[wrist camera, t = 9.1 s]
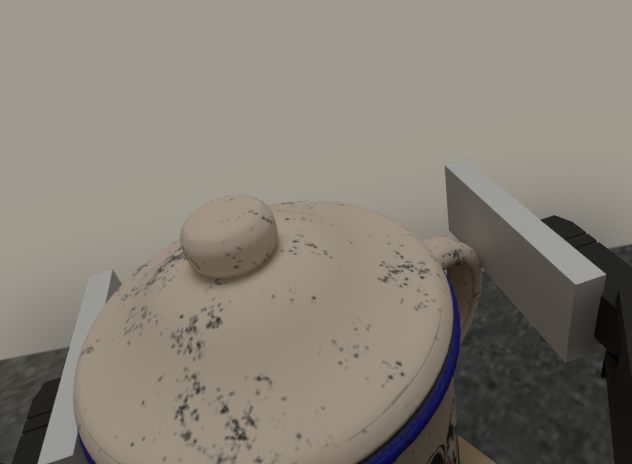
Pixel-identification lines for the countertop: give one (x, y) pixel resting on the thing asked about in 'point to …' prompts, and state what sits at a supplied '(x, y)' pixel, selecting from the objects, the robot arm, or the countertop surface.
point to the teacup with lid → (281, 342)
